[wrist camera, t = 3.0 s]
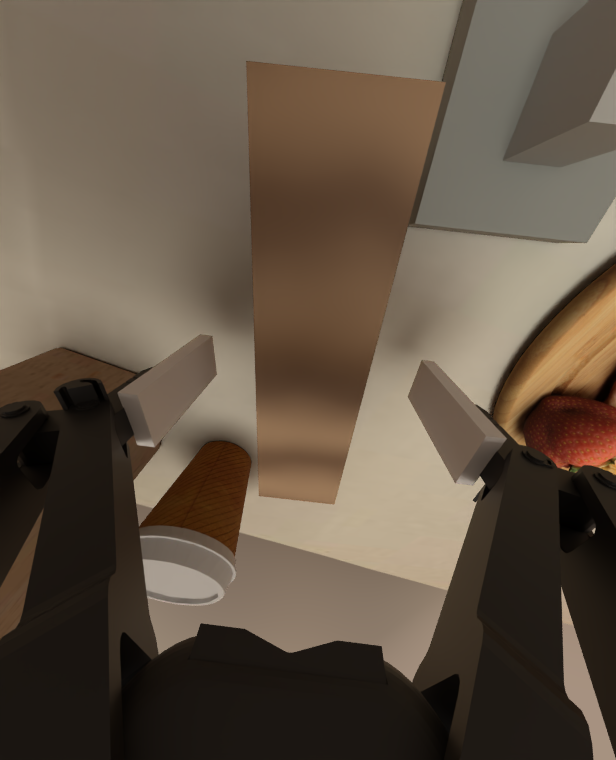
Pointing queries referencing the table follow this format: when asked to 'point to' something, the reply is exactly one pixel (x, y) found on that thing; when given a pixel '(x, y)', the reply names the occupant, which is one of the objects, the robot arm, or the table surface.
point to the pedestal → (525, 123)
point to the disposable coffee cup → (197, 528)
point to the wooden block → (38, 383)
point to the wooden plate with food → (568, 384)
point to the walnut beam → (325, 253)
